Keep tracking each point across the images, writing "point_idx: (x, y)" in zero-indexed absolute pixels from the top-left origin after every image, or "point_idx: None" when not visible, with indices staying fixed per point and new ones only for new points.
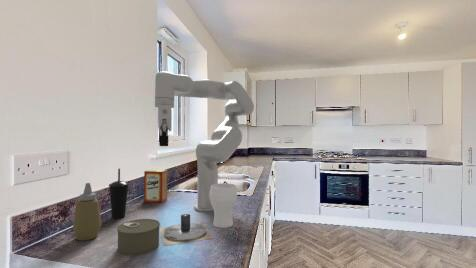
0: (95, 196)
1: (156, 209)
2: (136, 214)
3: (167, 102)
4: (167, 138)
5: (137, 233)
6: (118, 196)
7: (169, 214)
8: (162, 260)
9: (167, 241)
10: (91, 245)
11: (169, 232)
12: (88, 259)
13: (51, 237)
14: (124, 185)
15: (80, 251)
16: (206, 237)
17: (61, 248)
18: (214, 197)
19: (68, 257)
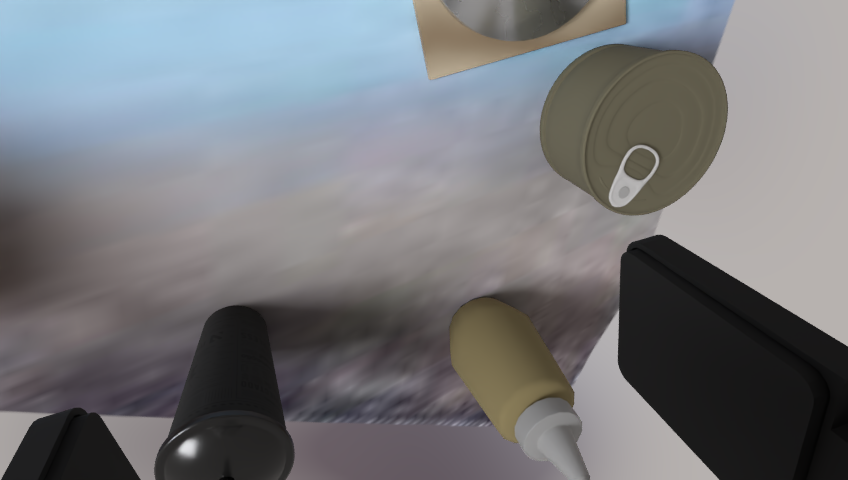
0: (546, 405)
1: (57, 179)
2: (188, 263)
3: None
4: (795, 338)
5: (724, 120)
6: (277, 392)
7: (173, 65)
8: (715, 9)
9: (594, 12)
10: (544, 277)
11: (539, 13)
12: (634, 237)
13: (457, 417)
14: (265, 418)
15: (578, 284)
16: None
17: (545, 343)
18: None
19: (607, 293)
